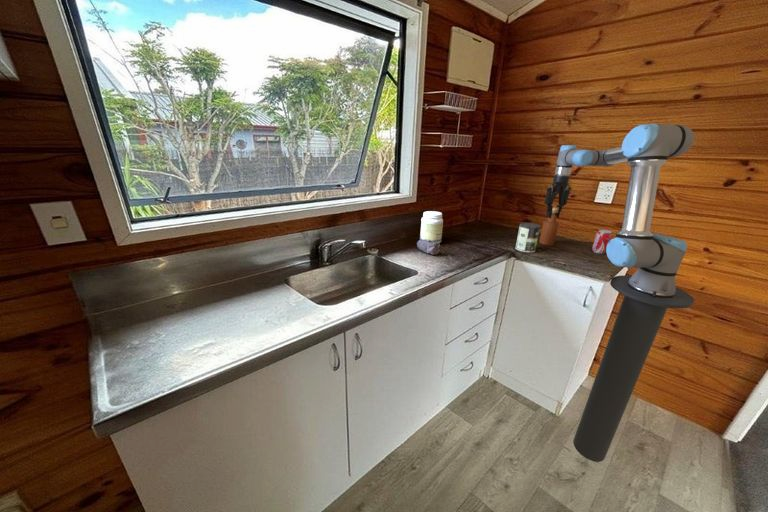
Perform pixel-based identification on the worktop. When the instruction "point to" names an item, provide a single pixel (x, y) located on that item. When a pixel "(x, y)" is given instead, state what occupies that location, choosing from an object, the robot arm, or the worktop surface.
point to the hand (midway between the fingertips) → (552, 217)
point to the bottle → (549, 231)
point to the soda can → (601, 241)
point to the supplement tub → (431, 226)
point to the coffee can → (527, 237)
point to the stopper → (554, 210)
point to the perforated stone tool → (428, 246)
